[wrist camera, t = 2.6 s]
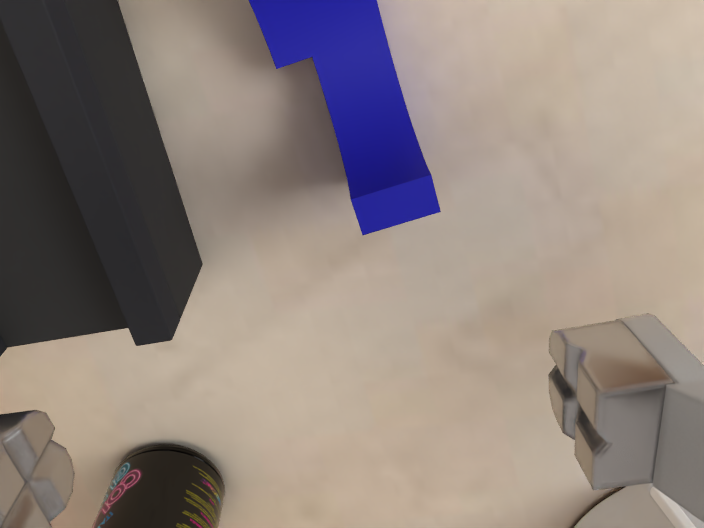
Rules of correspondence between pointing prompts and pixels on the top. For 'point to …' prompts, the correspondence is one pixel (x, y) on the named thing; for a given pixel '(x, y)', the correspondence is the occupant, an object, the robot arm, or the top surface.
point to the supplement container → (163, 491)
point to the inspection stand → (84, 183)
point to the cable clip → (357, 102)
